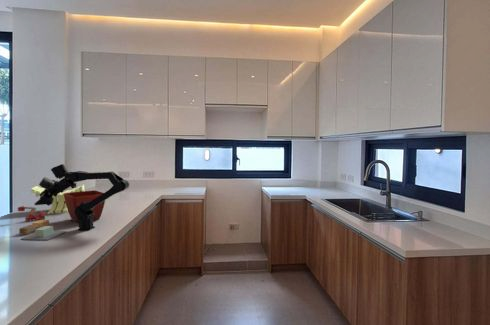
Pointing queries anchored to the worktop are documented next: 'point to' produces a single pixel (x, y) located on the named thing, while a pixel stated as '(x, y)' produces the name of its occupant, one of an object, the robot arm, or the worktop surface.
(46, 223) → the orange brick
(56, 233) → the baseplate
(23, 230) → the walnut brick
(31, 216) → the toy fire truck
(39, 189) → the slatted curved stool
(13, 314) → the worktop surface
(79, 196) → the plant pot
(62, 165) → the robot arm
